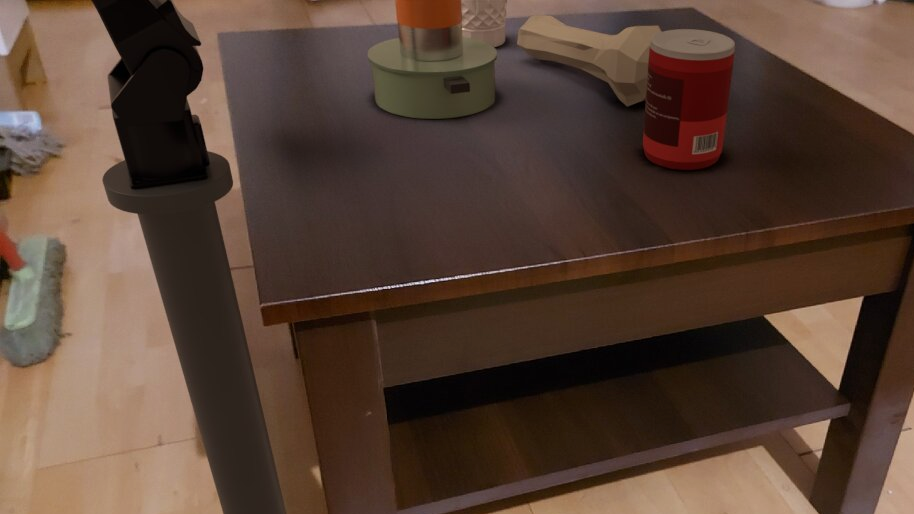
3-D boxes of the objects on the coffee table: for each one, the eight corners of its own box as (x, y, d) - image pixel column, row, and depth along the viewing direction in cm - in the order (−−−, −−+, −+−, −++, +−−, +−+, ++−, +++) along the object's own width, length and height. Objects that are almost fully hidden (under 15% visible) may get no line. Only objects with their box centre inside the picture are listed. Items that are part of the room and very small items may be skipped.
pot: (397, 133, 86) (392, 83, 84) (354, 81, 99) (349, 36, 96) (523, 116, 92) (523, 69, 89) (468, 68, 104) (466, 26, 102)
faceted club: (628, 111, 91) (490, 63, 107) (681, 117, 97) (543, 70, 113) (647, 24, 88) (502, -13, 104) (701, 35, 94) (556, -1, 110)
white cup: (437, 45, 112) (431, -38, 106) (467, 30, 118) (463, -49, 113) (491, 53, 110) (489, -31, 104) (519, 38, 116) (518, -42, 110)
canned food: (728, 147, 87) (743, 34, 81) (710, 177, 80) (725, 57, 74) (655, 135, 89) (664, 24, 83) (631, 163, 82) (639, 46, 76)
